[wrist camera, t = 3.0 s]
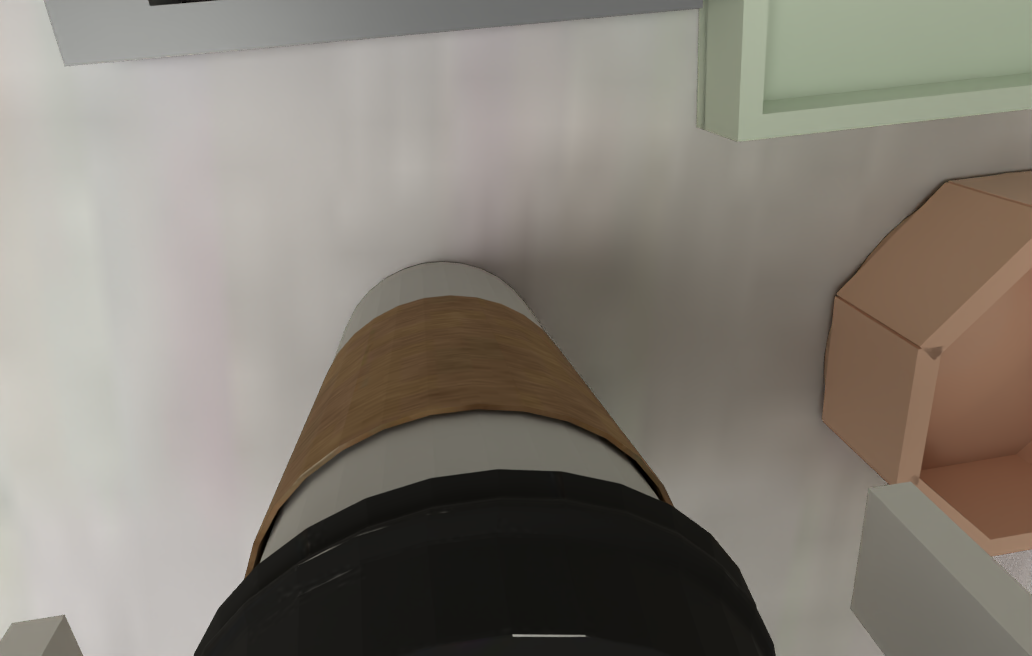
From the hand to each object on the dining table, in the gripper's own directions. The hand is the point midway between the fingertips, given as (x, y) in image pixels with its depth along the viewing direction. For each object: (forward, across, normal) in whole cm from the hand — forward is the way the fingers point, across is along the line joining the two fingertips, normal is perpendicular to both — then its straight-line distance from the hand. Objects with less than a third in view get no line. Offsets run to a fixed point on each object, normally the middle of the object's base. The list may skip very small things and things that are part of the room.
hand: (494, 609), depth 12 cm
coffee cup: (+11, 0, 0) cm, 11 cm away
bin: (+11, +18, -2) cm, 21 cm away
